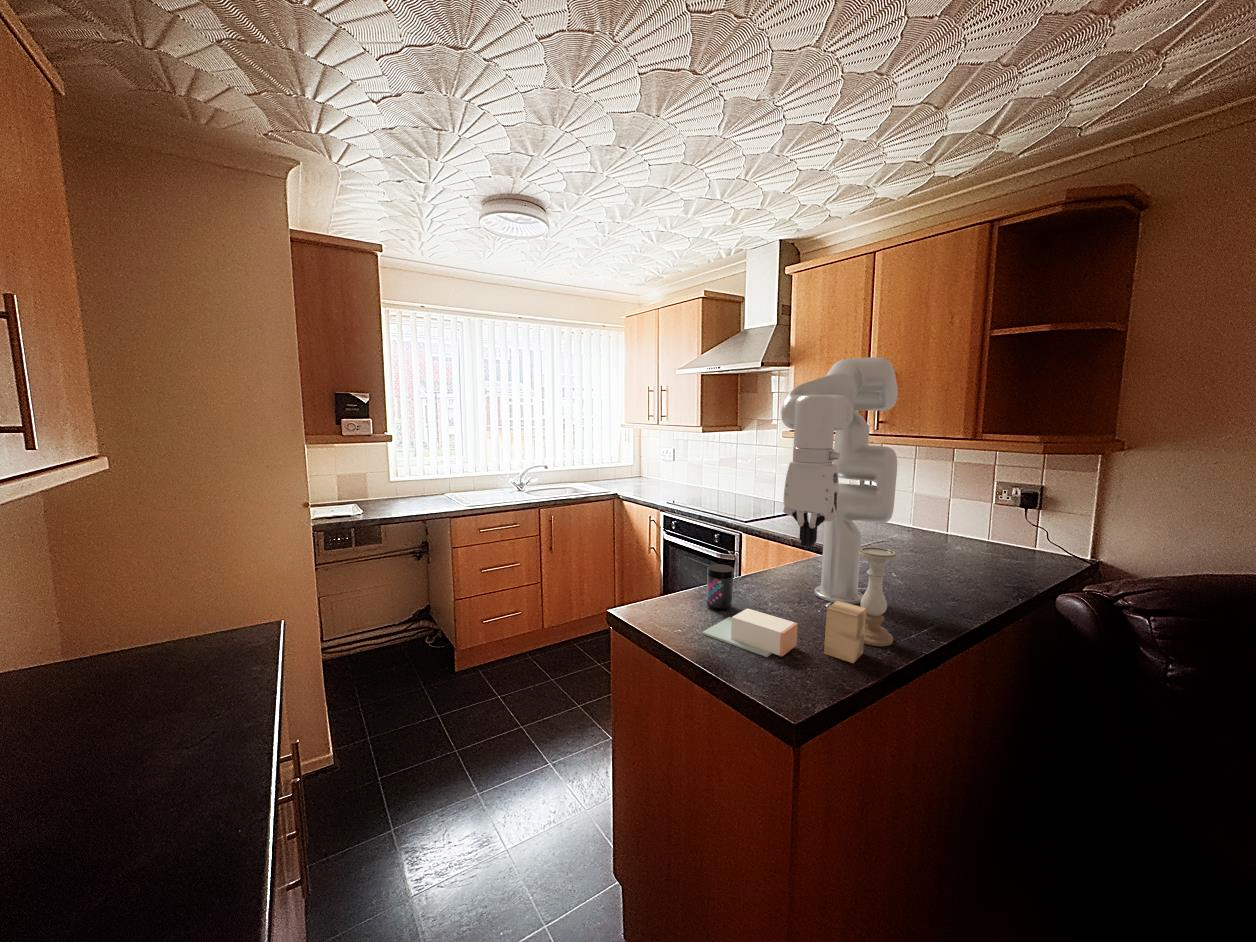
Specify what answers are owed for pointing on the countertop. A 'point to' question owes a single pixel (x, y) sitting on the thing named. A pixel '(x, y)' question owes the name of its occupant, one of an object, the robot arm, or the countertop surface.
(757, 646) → the cream block
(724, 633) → the mat
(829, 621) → the oak block
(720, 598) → the supplement container
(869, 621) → the candle holder
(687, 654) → the countertop surface
